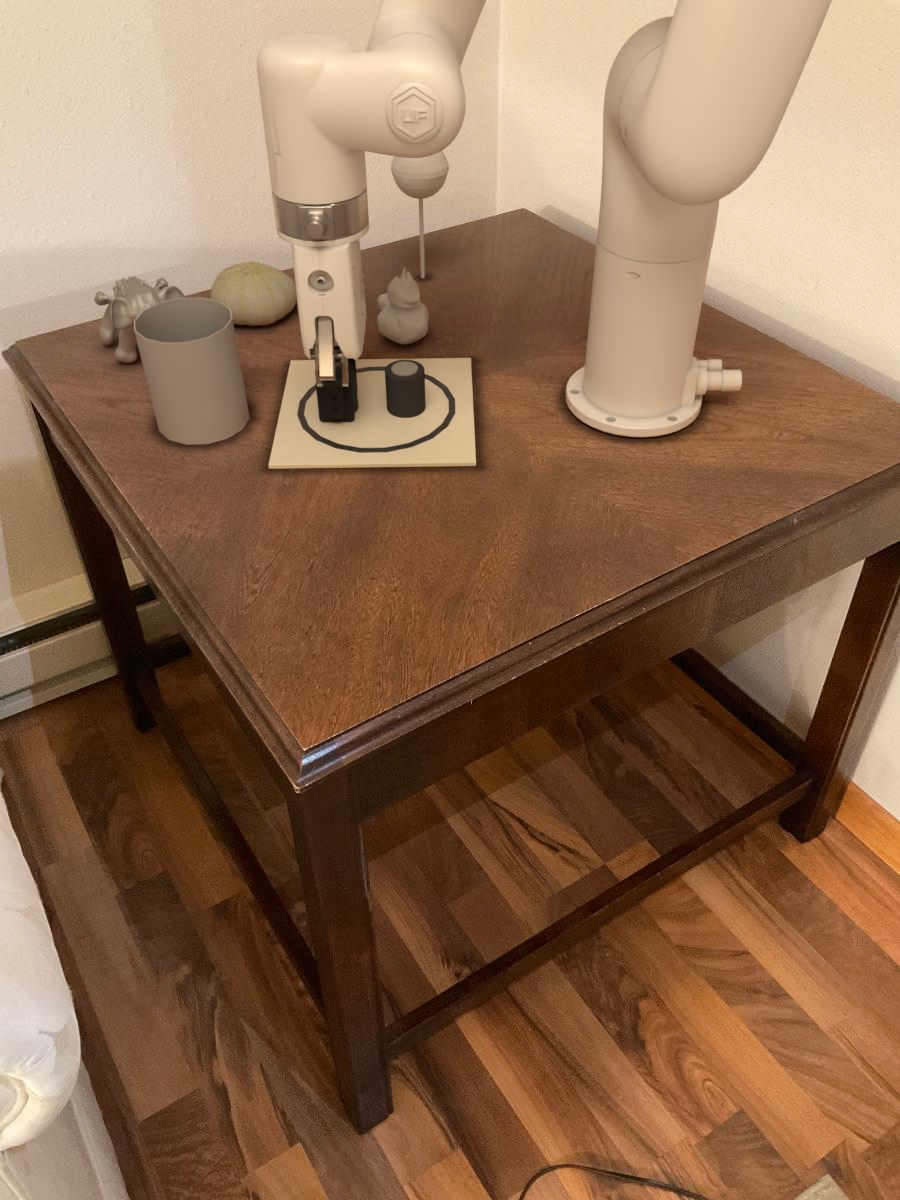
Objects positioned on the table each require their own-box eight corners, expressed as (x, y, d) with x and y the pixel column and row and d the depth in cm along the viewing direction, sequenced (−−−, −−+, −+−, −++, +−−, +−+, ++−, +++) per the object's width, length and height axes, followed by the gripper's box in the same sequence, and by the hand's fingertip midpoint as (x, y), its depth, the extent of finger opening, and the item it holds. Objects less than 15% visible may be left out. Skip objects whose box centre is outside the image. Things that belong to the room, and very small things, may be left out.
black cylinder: (425, 397, 93) (424, 357, 90) (425, 418, 90) (424, 378, 88) (387, 397, 93) (385, 358, 90) (386, 418, 91) (383, 378, 88)
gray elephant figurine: (157, 320, 106) (141, 251, 100) (232, 356, 100) (219, 284, 95) (84, 354, 100) (63, 283, 95) (159, 394, 95) (141, 320, 90)
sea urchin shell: (270, 265, 111) (286, 233, 103) (297, 331, 111) (315, 304, 104) (193, 285, 107) (203, 254, 100) (221, 353, 107) (233, 327, 100)
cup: (229, 449, 88) (210, 347, 81) (143, 439, 89) (116, 338, 82) (261, 399, 94) (245, 301, 87) (180, 391, 95) (158, 293, 88)
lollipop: (458, 271, 114) (457, 134, 103) (436, 293, 110) (434, 153, 99) (409, 262, 115) (404, 127, 105) (387, 283, 112) (379, 144, 101)
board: (470, 361, 99) (471, 356, 98) (476, 466, 86) (476, 461, 85) (291, 363, 99) (290, 359, 98) (268, 469, 86) (268, 464, 85)
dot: (359, 397, 93) (355, 358, 90) (357, 418, 91) (353, 378, 88) (321, 398, 93) (316, 358, 90) (318, 419, 91) (313, 379, 88)
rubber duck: (401, 358, 99) (398, 282, 94) (362, 334, 103) (356, 260, 97) (442, 340, 102) (441, 266, 96) (402, 318, 105) (399, 245, 100)
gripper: (362, 254, 73) (375, 459, 86) (372, 172, 85) (383, 362, 98) (261, 255, 73) (289, 459, 86) (286, 173, 85) (307, 362, 98)
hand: (339, 405), depth 92 cm, fingers closed on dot, 3 cm apart
